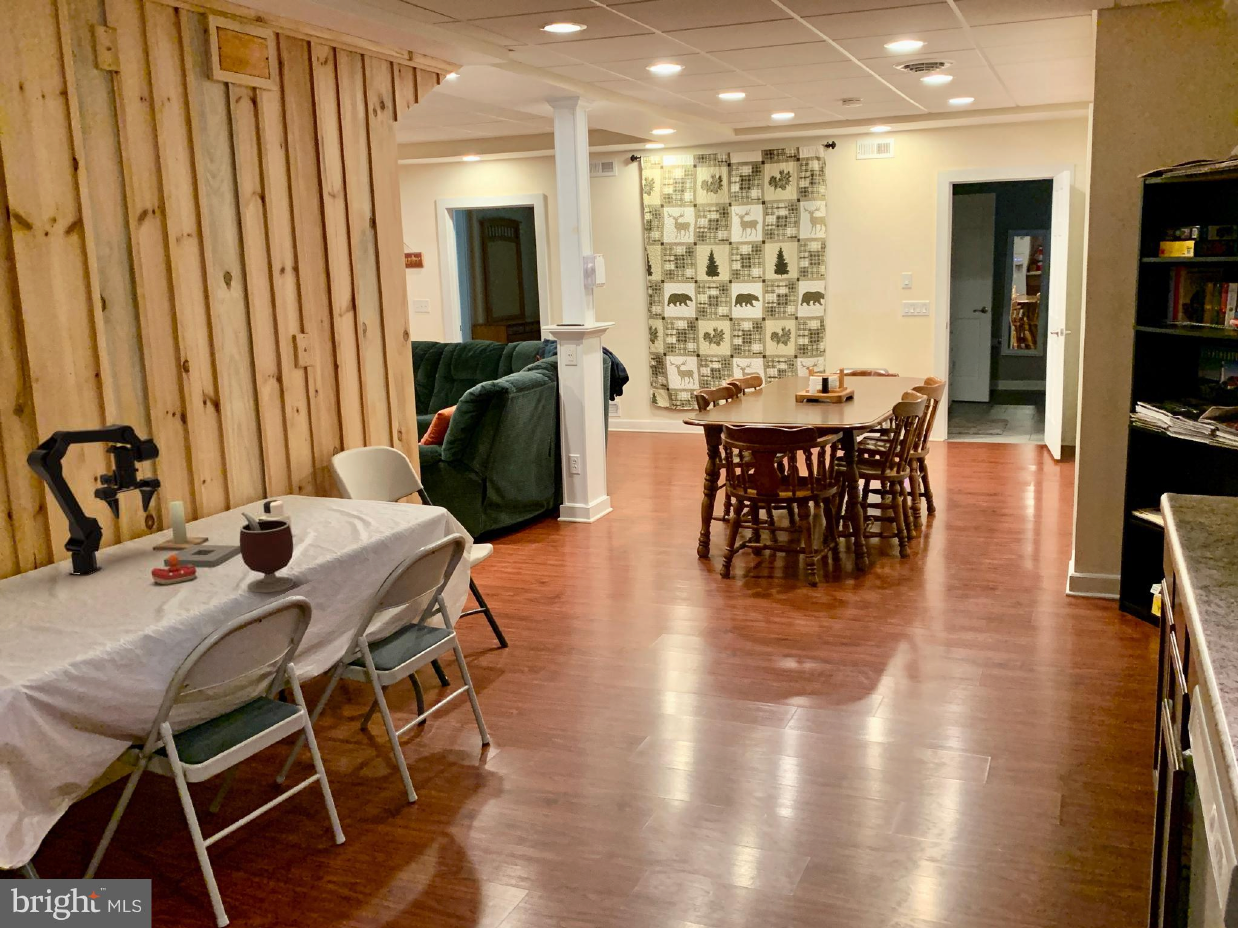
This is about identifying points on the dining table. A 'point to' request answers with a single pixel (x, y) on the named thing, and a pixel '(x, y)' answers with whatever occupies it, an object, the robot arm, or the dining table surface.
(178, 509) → the key peg
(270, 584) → the mate gourd
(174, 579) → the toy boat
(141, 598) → the dining table surface
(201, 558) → the cover plate
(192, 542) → the copper sheet
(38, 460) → the robot arm
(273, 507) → the medicine bottle
